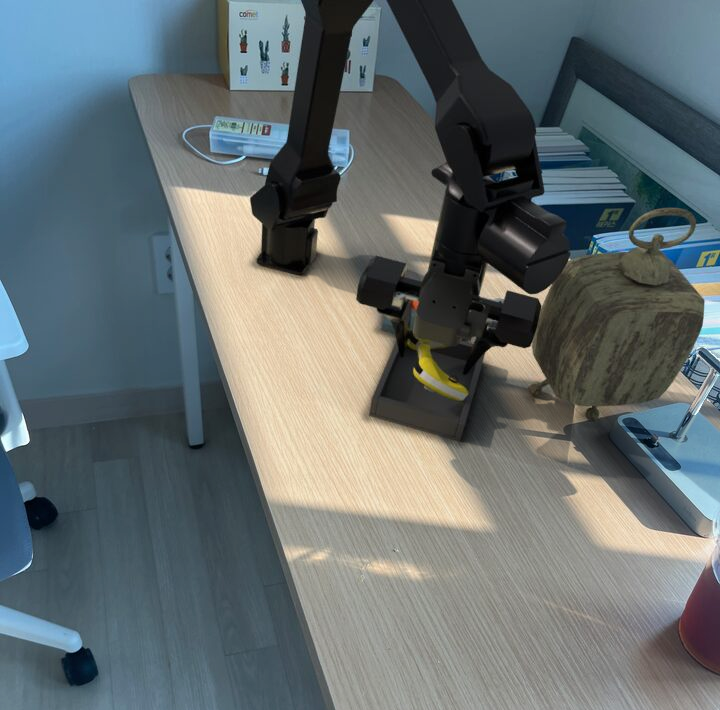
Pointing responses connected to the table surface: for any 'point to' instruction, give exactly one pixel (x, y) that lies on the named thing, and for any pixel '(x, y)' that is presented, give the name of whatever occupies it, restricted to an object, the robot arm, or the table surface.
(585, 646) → the table surface
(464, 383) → the tray
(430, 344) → the yellow curved piece
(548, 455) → the table surface
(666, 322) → the tabletop clock
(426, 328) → the robot arm
